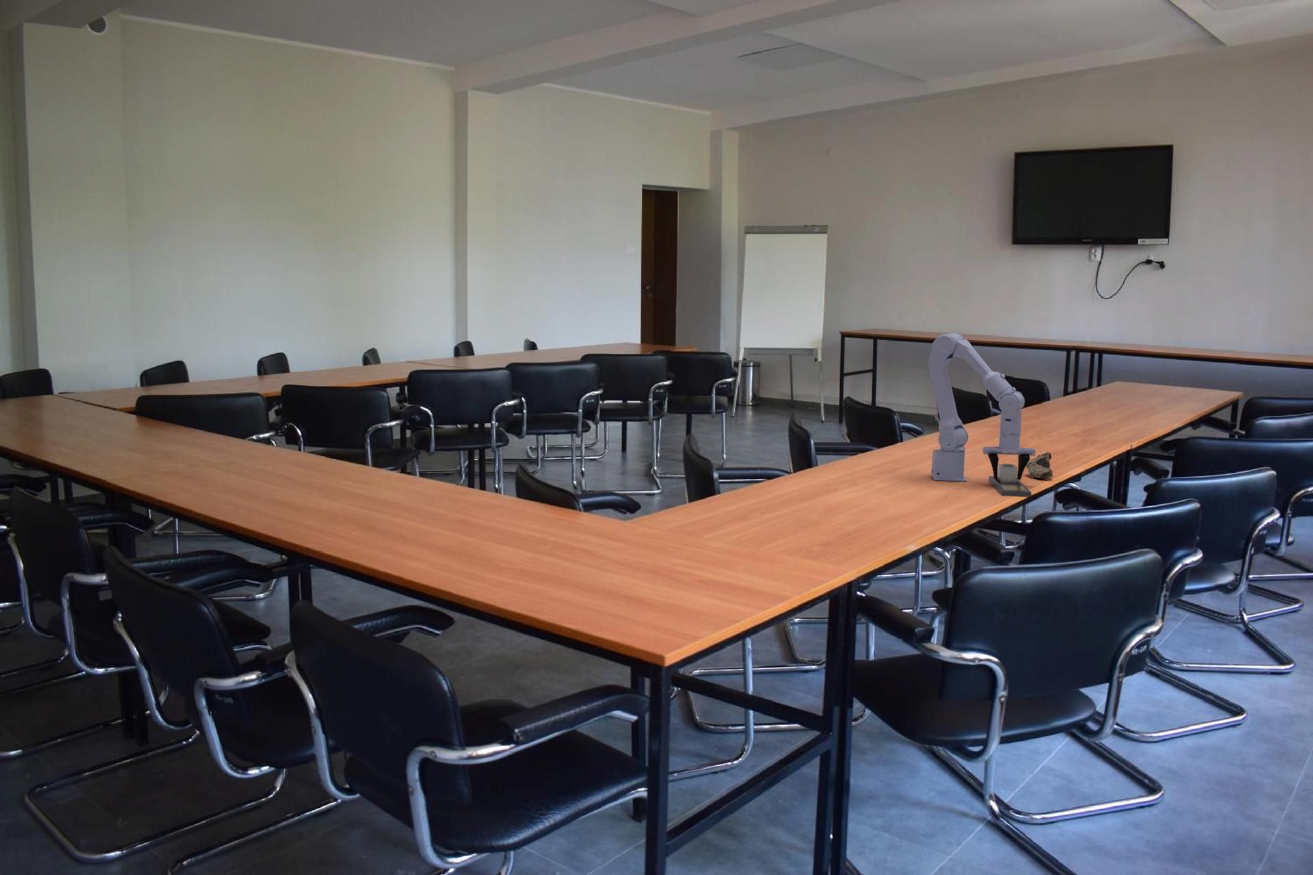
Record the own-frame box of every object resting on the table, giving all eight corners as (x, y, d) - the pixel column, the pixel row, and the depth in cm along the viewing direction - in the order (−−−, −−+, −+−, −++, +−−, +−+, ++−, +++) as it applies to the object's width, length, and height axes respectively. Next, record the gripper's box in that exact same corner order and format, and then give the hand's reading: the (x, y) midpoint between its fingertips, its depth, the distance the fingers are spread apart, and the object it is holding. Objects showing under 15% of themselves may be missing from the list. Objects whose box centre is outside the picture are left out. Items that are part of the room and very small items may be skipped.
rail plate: (1001, 495, 292) (1001, 491, 292) (988, 480, 314) (988, 475, 313) (1031, 496, 291) (1031, 492, 291) (1016, 480, 312) (1016, 476, 312)
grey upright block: (1000, 487, 304) (1001, 465, 303) (997, 484, 308) (999, 462, 307) (1016, 487, 303) (1017, 466, 302) (1013, 484, 308) (1014, 463, 306)
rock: (1067, 474, 315) (1050, 450, 321) (1057, 467, 310) (1040, 443, 317) (1043, 491, 319) (1027, 467, 325) (1033, 485, 314) (1017, 460, 320)
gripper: (986, 434, 300) (984, 480, 302) (1038, 436, 298) (1035, 482, 300) (982, 431, 307) (980, 475, 309) (1033, 432, 305) (1030, 477, 307)
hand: (1007, 478), depth 305 cm, fingers open, 6 cm apart
